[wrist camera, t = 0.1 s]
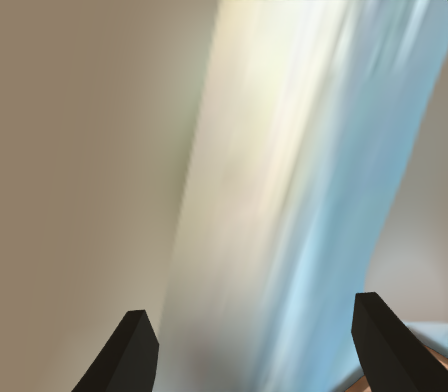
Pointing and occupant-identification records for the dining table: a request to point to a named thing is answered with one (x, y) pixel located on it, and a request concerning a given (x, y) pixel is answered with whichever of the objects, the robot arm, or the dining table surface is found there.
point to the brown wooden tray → (361, 387)
